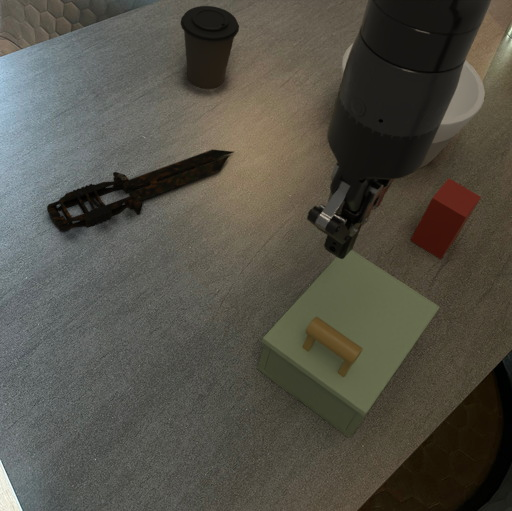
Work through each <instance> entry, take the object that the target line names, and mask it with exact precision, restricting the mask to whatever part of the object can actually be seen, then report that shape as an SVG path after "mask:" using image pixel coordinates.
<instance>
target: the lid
mask: <svg viewBox="0 0 512 511" xmlns="http://www.w3.org/2000/svg"><path fill="white" fill-rule="evenodd" d="M440 308H441V307H440V306H439V305H438V304H437V303H435V302H433V301H432V300H430V299H429V298H427V297H426V296H424V295H422V294H421V293H419V292H417V291H416V290H415V289H413V288H412V287H410V286H408V285H407V284H405V283H404V282H402V281H401V280H399V279H398V278H396V277H394V276H393V275H391V274H390V273H389V272H387V271H385V270H383V269H382V268H381V267H379V266H377V265H376V264H374V263H373V262H371V261H370V260H368V259H367V258H365V257H363V256H362V255H361V254H359V253H357V252H356V251H354V250H353V249H352V250H351V251H350V252H349V253H348V254H347V255H346V257H345V258H344V259H340V258H338V257H336V256H335V258H334V259H333V260H332V262H331V263H330V264H329V265H328V266H327V267H326V268H325V269H324V270H323V271H322V273H321V274H320V275H319V276H318V277H317V278H315V279H314V281H313V282H312V283H311V284H310V286H308V288H306V290H305V291H304V292H303V293H302V294H301V295H300V296H299V298H298V299H297V300H296V301H295V302H294V303H293V304H292V305H291V306H290V307H289V309H288V310H286V312H284V314H283V315H282V316H281V317H280V318H279V319H278V320H277V322H276V323H275V324H274V325H273V326H272V327H271V328H270V329H269V331H267V332H266V334H265V335H264V336H263V337H262V340H261V343H262V344H265V345H267V346H268V347H269V348H271V349H272V350H273V351H275V352H276V353H278V354H279V355H280V356H282V357H283V358H284V359H286V360H287V361H288V362H290V363H291V364H293V365H294V366H295V367H297V368H298V369H299V370H301V371H302V372H304V373H305V374H306V375H308V376H309V377H310V378H312V379H313V380H314V381H316V382H317V383H319V384H320V385H321V386H323V387H324V388H325V389H327V390H328V391H329V392H331V393H332V394H334V395H335V396H336V397H338V398H339V399H340V400H342V401H343V402H345V403H346V404H347V405H349V406H350V407H351V408H353V409H354V410H355V411H357V412H358V413H360V414H361V415H362V416H365V415H366V414H367V415H368V413H369V412H370V410H371V409H372V407H373V406H374V405H375V403H376V402H377V400H378V399H379V397H380V396H381V394H382V393H383V392H384V390H385V389H386V387H387V386H388V384H389V383H390V381H391V380H392V378H393V377H394V376H395V374H396V373H395V372H397V371H398V370H399V368H400V367H401V365H402V364H403V362H404V361H405V360H406V358H407V357H406V356H408V355H409V354H410V352H411V351H412V349H413V348H414V346H415V345H416V344H415V343H417V342H418V341H419V339H420V338H421V336H422V335H423V333H424V332H425V331H426V329H427V327H428V326H429V324H430V323H431V322H432V320H433V318H434V317H435V315H436V314H437V313H438V311H439V310H440ZM427 325H428V326H427ZM425 328H426V329H425ZM423 331H424V332H423ZM421 334H422V335H421ZM419 337H420V338H419ZM418 338H419V339H418ZM417 340H418V341H417ZM416 341H417V342H416ZM414 344H415V345H414ZM412 347H413V348H412ZM410 350H411V351H410ZM409 351H410V352H409ZM408 353H409V354H408ZM407 354H408V355H407ZM405 357H406V358H405ZM403 360H404V361H403ZM401 363H402V364H401ZM399 366H400V367H399ZM398 367H399V368H398ZM397 369H398V370H397ZM396 370H397V371H396ZM394 373H395V374H394ZM392 376H393V377H392ZM390 379H391V380H390ZM389 380H390V381H389ZM388 382H389V383H388ZM387 383H388V384H387ZM386 385H387V386H386ZM385 386H386V387H385ZM383 389H384V390H383ZM381 392H382V393H381ZM380 393H381V394H380ZM379 395H380V396H379ZM378 396H379V397H378ZM377 398H378V399H377ZM376 399H377V400H376ZM375 401H376V402H375ZM374 402H375V403H374ZM372 405H373V406H372ZM371 406H372V407H371ZM370 408H371V409H370ZM369 409H370V410H369ZM368 411H369V412H368ZM367 412H368V413H367ZM367 415H366V416H367ZM366 416H365V417H366Z"/></svg>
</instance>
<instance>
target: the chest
mask: <svg viewBox="0 0 512 511" xmlns="http://www.w3.org/2000/svg"><path fill="white" fill-rule="evenodd" d="M428 326H429V324H428V325H427V327H428ZM427 327H426V328H425V330H426V329H427ZM425 330H424V331H423V333H424V332H425ZM423 333H422V334H421V336H422V335H423ZM421 336H420V337H419V338H418V340H417V341H416V343H417V342H418V341H419V339H420V338H421ZM416 343H415V344H414V346H415V345H416ZM263 344H264V343H263ZM414 346H413V347H412V349H413V348H414ZM412 349H411V350H410V351H409V353H408V354H407V356H408V355H409V354H410V352H411V351H412ZM407 356H406V357H405V359H406V358H407ZM405 359H404V360H403V362H404V361H405ZM403 362H402V363H401V365H402V364H403ZM401 365H400V366H399V367H398V369H397V370H396V372H397V371H398V370H399V369H400V367H401ZM257 370H258V371H259V372H260V373H262V374H263V375H264V376H265V377H267V378H268V379H270V380H271V381H272V382H274V384H276V385H277V386H279V387H280V388H282V389H283V390H284V391H286V392H287V393H289V394H290V395H291V396H293V397H294V398H295V399H296V400H298V401H299V402H301V403H302V404H303V405H304V406H305V407H307V408H309V409H310V410H311V411H312V412H314V413H315V414H316V415H318V416H319V417H320V418H322V419H323V420H325V421H326V422H327V423H328V424H329V425H331V426H333V427H334V428H335V429H336V430H338V431H340V432H341V433H342V435H343V434H344V435H345V436H346V437H347V438H348V439H351V438H352V436H353V435H354V434H355V432H356V431H357V429H358V428H359V426H360V425H361V424H362V422H363V421H364V419H365V417H366V416H367V415H368V413H369V412H370V410H371V409H372V408H373V406H374V404H375V403H376V402H377V400H378V399H379V397H380V396H381V395H382V393H383V391H384V390H385V388H386V387H387V386H388V385H389V383H390V381H391V380H392V378H393V377H394V375H395V374H396V372H395V373H394V375H393V376H392V378H391V379H390V380H389V382H388V383H387V385H386V386H385V388H384V389H383V391H382V392H381V393H380V395H379V396H378V398H377V399H376V401H375V402H374V404H373V405H372V406H371V408H370V409H369V411H368V412H367V414H366V415H365V416H362V415H361V414H360V413H358V412H357V411H355V410H354V409H353V408H351V407H350V406H349V405H347V404H346V403H345V402H343V401H342V400H340V399H339V398H338V397H336V396H335V395H334V394H332V393H331V392H329V391H328V390H327V389H325V388H324V387H323V386H321V385H320V384H319V383H317V382H316V381H314V380H313V379H312V378H310V377H309V376H308V375H306V374H305V373H304V372H302V371H301V370H299V369H298V368H297V367H295V366H294V365H293V364H291V363H290V362H288V361H287V360H286V359H284V358H283V357H282V356H280V355H279V354H278V353H276V352H275V351H273V350H272V349H271V348H269V347H268V346H267V345H265V344H264V345H263V347H262V352H261V354H260V359H259V362H258V366H257Z"/></svg>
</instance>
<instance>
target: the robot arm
mask: <svg viewBox="0 0 512 511" xmlns="http://www.w3.org/2000/svg"><path fill="white" fill-rule="evenodd" d="M491 2H492V0H367V1H366V6H365V10H364V13H363V16H362V20H361V24H360V27H359V30H358V33H357V35H356V37H355V39H354V42H353V43H354V44H353V46H352V48H351V51H350V53H349V56H348V59H347V62H346V66H345V70H344V73H343V77H342V81H341V80H340V85H339V88H338V92H337V96H336V99H335V103H334V106H333V109H332V110H333V111H332V114H331V117H330V121H329V124H328V128H327V137H326V138H327V142H328V143H327V144H328V146H329V149H330V151H331V152H332V154H333V155H334V158H335V160H336V164H335V165H334V167H333V169H332V173H331V177H330V180H331V182H330V186H329V196H328V199H327V203H326V205H325V204H323V203H320V204H319V205H318V206H317V205H314V206H313V207H312V208H311V209H309V211H308V213H307V216H306V219H307V221H308V222H310V223H311V224H312V225H313V226H314V227H315V228H316V229H318V230H319V231H320V232H322V233H324V234H325V235H327V236H326V238H325V241H324V244H323V247H324V250H325V251H327V252H328V253H330V254H331V255H333V256H335V258H336V257H338V258H340V259H344V258H345V257H346V255H347V254H348V253H349V252H350V251H351V250H353V248H354V247H355V243H356V241H357V238H358V236H359V233H360V231H361V228H362V227H363V226H364V225H365V224H366V223H368V221H369V219H370V218H369V217H370V214H371V213H372V211H375V210H376V209H377V208H379V207H380V205H381V204H382V202H383V200H384V197H385V195H386V193H387V191H388V190H389V188H390V186H391V185H392V183H393V181H394V180H397V179H400V178H404V177H405V178H406V177H407V176H409V175H411V174H413V173H414V172H416V171H417V170H419V169H420V168H419V167H420V166H421V164H422V163H423V161H424V159H425V157H426V155H427V153H428V150H429V148H430V146H431V144H432V142H433V139H434V137H435V135H436V133H437V131H438V128H439V126H440V124H441V122H442V120H443V118H444V115H445V113H446V111H447V109H448V107H449V104H450V102H451V100H452V98H453V96H454V93H455V91H456V88H457V86H458V82H459V79H460V75H461V71H462V68H463V65H464V62H465V60H466V61H467V57H468V55H469V53H470V50H471V48H472V46H473V44H474V42H475V39H476V37H477V35H478V33H479V30H480V28H481V27H482V24H483V21H484V19H485V17H486V15H487V13H488V11H489V7H490V5H491ZM418 168H419V169H418Z"/></svg>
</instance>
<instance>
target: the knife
mask: <svg viewBox="0 0 512 511" xmlns="http://www.w3.org/2000/svg"><path fill="white" fill-rule="evenodd" d="M233 153H234V150H233V151H231V150H221V149H214V148H213V149H209V150H207V151H204V152H201V153H199V154H195V155H193V156H190V157H187V158H185V159H181V160H178V161H176V162H173V163H170V164H167V165H165V166H161V167H159V168H157V169H154V170H152V171H149V172H146V173H143V174H140V175H137V176H135V177H132V178H130V179H129V178H128V177H127V174H124V173H121V172H117V171H114V172H112V176H113V180H111V181H102V182H99V183H96V184H94V183H90V184H89V185H88V184H86V185H85V186H81V187H78V188H76V189H73V190H71V191H69V192H66V193H65V194H64V195H63V196H62V197H60V198H59V199H58V200H56V201H53V202H51V203H49V204H47V206H46V211H47V213H48V216H49V218H50V220H51V221H52V223H53V225H54V226H55V227H56V228H57V229H58V230H59V231H60V232H65V231H69V230H70V229H73V228H79V227H86V228H90V227H94V226H95V225H96V226H97V225H99V224H102V223H103V222H107V221H108V220H109V221H110V220H112V219H111V218H112V217H113V216H116V215H118V214H120V213H122V212H123V211H124V210H125V209H126V208H129V209H130V210H132V209H133V211H134V212H135V214H136V215H140V214H141V211H142V209H143V200H146V199H149V198H151V197H153V196H156V195H159V194H162V193H165V192H167V191H170V190H173V189H175V188H177V187H180V186H183V185H186V184H188V183H191V182H193V181H196V180H199V179H202V178H204V177H207V176H209V175H211V174H214V173H217V172H220V171H221V170H222V168H223V167H224V165H225V163H226V162H227V161H228V159H229V157H230V155H231V154H233ZM211 161H212V162H211ZM111 186H112V187H111ZM138 188H139V189H138ZM121 189H122V190H124V191H125V193H128V196H127V197H124V198H121V199H118V200H116V201H113V202H110V203H108V204H105V202H103V201H102V199H101V196H103V195H106V194H110V193H112V192H115V191H118V190H121ZM85 202H88V204H89V206H90V207H91V209H90V210H89V209H88V207H87V206H86V205H85ZM77 205H78V207H79V208H80V210H81V211H82V213H81V214H78V215H75V216H73V217H72V215H71V213H70V212H69V211H68V208H71V207H73V206H77ZM95 206H96V207H95ZM60 211H61V212H62V214H63V215H61V213H60ZM73 222H74V223H73Z"/></svg>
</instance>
